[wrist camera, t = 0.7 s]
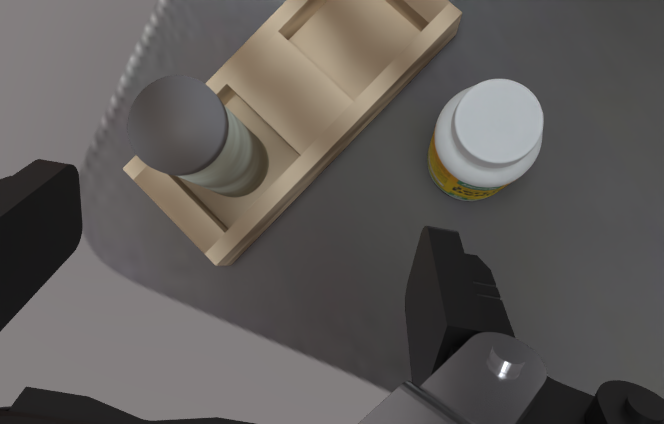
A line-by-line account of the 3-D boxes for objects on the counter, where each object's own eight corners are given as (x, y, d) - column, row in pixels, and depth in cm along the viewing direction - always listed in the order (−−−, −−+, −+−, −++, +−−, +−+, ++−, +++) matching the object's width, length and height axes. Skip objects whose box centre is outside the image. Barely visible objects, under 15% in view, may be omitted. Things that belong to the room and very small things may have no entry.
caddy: (362, -47, 36) (351, -180, 25) (455, 34, 34) (486, -69, 24) (144, 176, 36) (41, 139, 25) (230, 265, 35) (160, 266, 24)
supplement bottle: (498, 109, 34) (542, 49, 24) (522, 190, 33) (577, 160, 24) (416, 131, 34) (427, 80, 25) (437, 211, 34) (458, 191, 24)
